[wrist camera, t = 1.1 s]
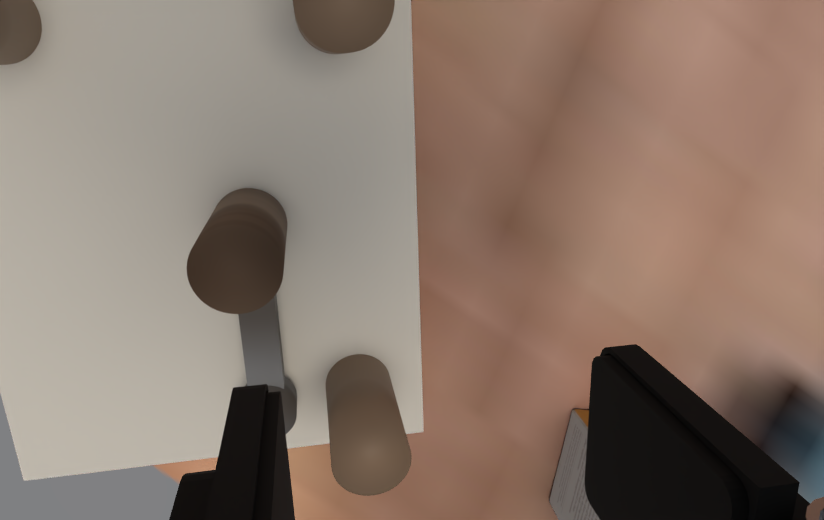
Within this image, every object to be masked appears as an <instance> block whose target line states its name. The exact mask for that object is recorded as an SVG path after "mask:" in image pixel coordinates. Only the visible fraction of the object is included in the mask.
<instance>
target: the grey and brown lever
mask: <svg viewBox="0 0 824 520" xmlns="http://www.w3.org/2000/svg"><path fill="white" fill-rule="evenodd" d="M286 237H287V217H286V214H285V211H284V209H283V207H282V206H281V204H280V203H279V202H278V200H277V199H275V198H274V197H273V196H272V195H270V194H269V193H267V192H265V191H262V190H259V189H254V188H243V189H238V190H235V191H232V192H230V193H229V194H227V195H226V196H224V197H223V198H222V199H221V200H220V201H219V203H218V204H217V206H216V208H215V209H214V211H213V213H212V214H211V216H210V218H209V220H208V221H207V223H206V225H205V226H204V228H203V230H202V232H201V233H200V235H199V237H198V239H197V240H196V242H195V244H194V245H193V247H192V249H191V251H190V253H189V256H188V260H187V277H188V281H189V284H190V286H191V288H192V290H193V291H194V293H195V294H196V296H197V297H198V298H199V299H200V300H201V301H202V302H204V303H205V304H206V305H208V306H209V307H211V308H213V309H215V310H217V311H220V312H224V313H229V314H238V316H239V324H240V332H241V339H242V347H243V355H244V363H245V371H246V379H247V384H246V386H253V385H262V384H267V385H268V390H269V392H277V391H280V392H281V396H282V405H283V414H284V423H285V433H286V434H287V433H288V432H289V431H290V430H291V429H292V428H293V426H294V424H295V422H296V417H297V391H296V388H295V386H294V384H293V383H292V381H291V380H290V379H288V378H287V377H285V373H284V363H283V354H282V344H281V334H280V325H279V315H278V306H277V296H276V294H277V292H278V290H279V288H280V286H281V283H282V279H283V272H284V260H285V249H286Z"/></svg>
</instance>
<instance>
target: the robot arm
mask: <svg viewBox="0 0 824 520" xmlns="http://www.w3.org/2000/svg"><path fill="white" fill-rule="evenodd" d="M798 487H799V482H798V481H797V480H796V479H795V478H794V477H792V476H791V475H790V474H789V473H788V472H787V471H785V470H784V469H783V468H782V467H781V466H780V465H778V464H777V463H776V462H775V461H774V460H772V459H771V458H770V457H769V456H768V455H767V454H765V453H764V452H763V451H762V450H761V449H760V448H758V447H757V446H756V445H755V444H754V443H752V442H751V441H750V440H749V439H748V438H747V437H745V436H744V435H743V434H742V433H741V432H740V431H738V430H737V429H736V428H735V427H734V426H733V425H731V424H730V423H729V422H728V421H727V420H725V419H724V418H723V417H722V416H721V415H720V414H718V413H717V412H716V411H715V410H714V409H713V408H711V407H710V406H709V405H708V404H707V403H706V402H704V401H703V400H702V399H701V398H700V397H698V396H697V395H696V394H695V393H694V392H693V391H691V390H690V389H689V388H688V387H687V386H686V385H684V384H683V383H682V382H681V381H680V380H678V379H677V378H676V377H675V376H674V375H673V374H671V373H670V372H669V371H668V370H667V369H666V368H664V367H663V366H662V365H661V364H660V363H659V362H657V361H656V360H655V359H654V358H653V357H651V356H650V355H649V354H648V353H647V352H646V351H644V350H643V349H642V348H641V347H640V346H638V345H625V346H616V347H607V348H604V349H603V350H602V352H601V355H600V356H597V357H595V358H594V360H593V362H592V372H591V388H590V403H589V419H588V434H587V450H586V465H585V491H586V495H587V498H588V501H589V503H590V505H591V506H592V508H593V509H594V511H595V513H596V514H597V516H598V517H599V519H600V520H824V497H822V498H819V499H815V500H814V501H813V502H812V503H811V504H810V503H809V502H807V501H806V500H805V499H804V498H803V497H802V496H801V495H800V494H798ZM169 520H295V516H294V507H293V497H292V488H291V479H290V470H289V460H288V451H287V442H286V433H285V423H284V414H283V405H282V396H281V392H280V391H277V392H269V390H268V385H267V384H262V385H253V386H243V387H234V388H233V390H232V394H231V398H230V403H229V408H228V413H227V418H226V422H225V427H224V432H223V437H222V441H221V446H220V451H219V456H218V460H217V465H216V470H211V471H203V472H195V473H187V474H185V475H183V476H182V479H181V481H180V484H179V488H178V491H177V495H176V498H175V502H174V506H173V509H172V512H171V516H170V519H169Z"/></svg>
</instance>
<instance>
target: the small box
mask: <svg viewBox="0 0 824 520" xmlns="http://www.w3.org/2000/svg"><path fill="white" fill-rule="evenodd" d="M588 419H589V410H580V409H574V410H572V413H571V417H570V421H569V425H568V429H567V433H566V437H565V441H564V445H563V449H562V453H561V457H560V460H559V464H558V468H557V472H556V476H555V480H554V484H553V488H552V492H551V496H550V504H551V506H552V508H553V510H554V512H555V514H556V515H557V517H558V519H559V520H600V519H599V517H598V516H597V514H596V513H595V511H594V509H593V508H592V506H591V505H590V503H589V501H588V498H587V495H586V491H585V465H586V450H587V434H588Z"/></svg>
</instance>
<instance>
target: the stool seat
mask: <svg viewBox="0 0 824 520" xmlns="http://www.w3.org/2000/svg"><path fill="white" fill-rule="evenodd" d="M243 188H254V189H259V190H262V191H265V192H267V193H269V194H270V195H272V196H273V197H274V198H275V199H277V200H278V202H279V203H280V204H281V206H282V207H283V209H284V211H285V214H286V217H287V237H286V249H285V260H284V272H283V279H282V283H281V286H280V288H279V290H278V292H277V294H276V296H277V306H278V315H279V325H280V334H281V344H282V354H283V363H284V373H285V377H287V378H288V379H290V380H291V381H292V383H293V384H294V386H295V388H296V391H297V417H296V422H295V424H294V426H293V428H292V429H291V430H290V431H289V432H288V433H287V434H286V442H287V449H288V448H296V447H304V446H312V445H320V444H329V443H330V454H331V467H332V472H333V475H334V477H335V479H336V481H337V482H338V483H339V484H340V485H341V486H342V487H343V488H344V489H346V490H347V491H349V492H352V493H354V494H358V495H365V496H370V495H377V494H381V493H384V492H387V491H389V490H391V489H392V488H394V487H395V486H397V485H398V484H399V483H400V482H401V481H402V480H403V479H404V478H405V476H406V475H407V473H408V471H409V468H410V465H411V451H410V447H409V443H408V440H407V436H406V434H410V433H418V432H424V431H423V397H422V363H421V328H420V294H419V260H418V225H417V191H416V157H415V123H414V88H413V54H412V20H411V0H0V393H1V397H2V400H3V404H4V408H5V412H6V416H7V419H8V423H9V427H10V430H11V434H12V438H13V442H14V446H15V449H16V453H17V457H18V461H19V464H20V469H21V472H22V476H23V480H24V481H27V480H35V479H42V478H51V477H59V476H68V475H76V474H84V473H92V472H100V471H108V470H117V469H125V468H133V467H141V466H149V465H157V464H166V463H174V462H182V461H190V460H198V459H206V458H214V457H218V456H219V451H220V446H221V441H222V437H223V432H224V427H225V422H226V418H227V413H228V408H229V403H230V398H231V394H232V390H233V388H234V387H243V386H246V384H247V379H246V371H245V363H244V355H243V347H242V339H241V332H240V324H239V316H238V314H229V313H224V312H220V311H217V310H215V309H213V308H211V307H209V306H208V305H206V304H205V303H204V302H202V301H201V300H200V299H199V298H198V297H197V296H196V294H195V293H194V291H193V290H192V288H191V286H190V284H189V281H188V277H187V260H188V256H189V253H190V251H191V249H192V247H193V245H194V244H195V242H196V240H197V239H198V237H199V235H200V233H201V232H202V230H203V228H204V226H205V225H206V223H207V221H208V220H209V218H210V216H211V214H212V213H213V211H214V209H215V208H216V206H217V204H218V203H219V201H220V200H221V199H222V198H223V197H224V196H226V195H227V194H229V193H230V192H232V191H235V190H238V189H243Z"/></svg>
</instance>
